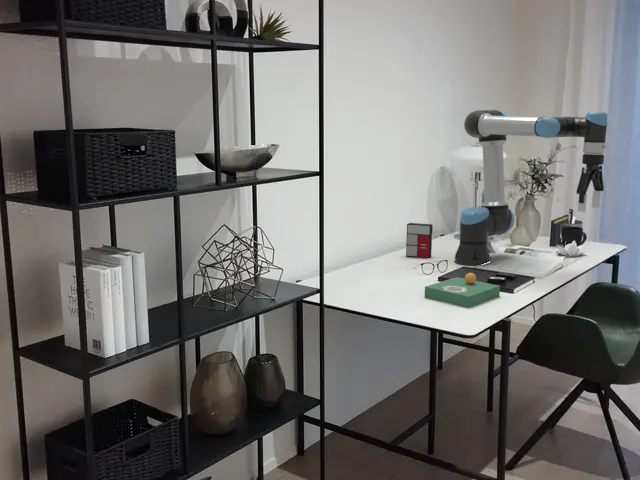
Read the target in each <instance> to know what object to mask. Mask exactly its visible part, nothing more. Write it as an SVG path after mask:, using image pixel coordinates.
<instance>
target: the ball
mask: <svg viewBox="0 0 640 480" xmlns="http://www.w3.org/2000/svg"><path fill="white" fill-rule="evenodd" d="M464 279H465V281H466V282H467V283H468V284H473V283H474V282H475V281H477V276H476V274H475V273H473V272H469V273H466V274H465V275H464Z"/></svg>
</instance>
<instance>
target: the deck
mask: <svg viewBox="0 0 640 480" xmlns="http://www.w3.org/2000/svg"><path fill="white" fill-rule="evenodd" d="M500 290H501V285H498V284H492V283H488V282H483V281H478V280H476V281H475V282H474V283H473V284H468V283H467V282H466V281H465V277H463V278H462V277H459V276H456V277H453V278H449V279H446V280H442V281H438V282H437V283H433V284H430V285H426V286H424V298H427V299H431V300H434V301H438V302H443V303H447V304H451V305H455V306H460V307H463V308H472V307H474V306H477V305H480V304H483V303H485V302H487V301H490V300H493V299H495V298H496V299H497V298H498V297H500V294H501V293H500V292H501V291H500Z"/></svg>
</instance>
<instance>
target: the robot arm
mask: <svg viewBox="0 0 640 480" xmlns="http://www.w3.org/2000/svg"><path fill="white" fill-rule="evenodd" d="M463 126H464V130H465V132H466V133H467V134H468V136H470V137H472V138H476V139H478V144H480V145H481V146H482V147H481V148H482V162H483V164H482V166H483V167H482V168H483V189H484V200H485V201H484V202H483V204H482V203H481V204H480V206H474V207H473V206H471V207H467V208H465V209H463V210H462V211H461V212H460V218H459V221H460V222H459V223H460V224H459V244H458V248H457V250H456V252H455V256H454V262H455V263H456V264H459V265H462V266H472V267H477V266H476V265H481V264H484V263H487V262H489V261H490V260H491V259H492V258H491V253H490V250H489V249H488V247H487V240H488V238H489V237H493V236H501V235H503V234H507V233H508V232H510V230H511V229H512V228H513V227H514V223H515V215H514V212H512V210H511V209H510V207H509V202H508V201H506V199H505V174H504V173H505V170H504V169H505V168H504V144H505V143H506V142H507V136H514V137H515V136H516V137H517V136H520V137H536V138H537V137H539V138H544V139H551V138H583V149H582V153H583V154H582V161H581V162H582V164H583V165H586V166H585V167H581V173H580V178H579V181H578V185H577V188H576V192H575V194H577V195H578V201H577V212H583V213H586V208H587V197H588V194H587V192H588V189H589V187H590V185H591V183H592V187H593V189H594V190H592V199H591V200H592V201H591V208H595V209H600V203H601V192H604V190H605V189H604V188H605V187H604V186H605V185H604V178H603V177H604V176H603V165H604V163H605V150H606V148H607V145H606V140H607V138H606V137H607V131H608V129H607V127H608V114H607V112H601V111H596V112H595V111H592V112H590V111H588V112H587V113H586V115H585V116H584V117H583V116H582V117H581V116H580V117H579V116H559V117H558V116H524V115H523V116H520V115H519V116H518V115H508V114H507V113H506V112H504V111H502V110H497V109H492V110H490V109H487V110H485V109H484V110H482V109H481V110H479V109H478V110H474V111H472V112H470V113H469V114H467V116H466V117H465V119H464V125H463Z"/></svg>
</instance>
